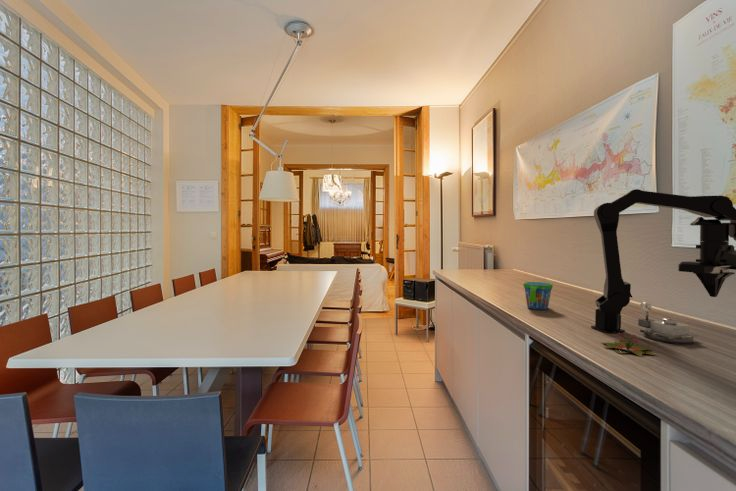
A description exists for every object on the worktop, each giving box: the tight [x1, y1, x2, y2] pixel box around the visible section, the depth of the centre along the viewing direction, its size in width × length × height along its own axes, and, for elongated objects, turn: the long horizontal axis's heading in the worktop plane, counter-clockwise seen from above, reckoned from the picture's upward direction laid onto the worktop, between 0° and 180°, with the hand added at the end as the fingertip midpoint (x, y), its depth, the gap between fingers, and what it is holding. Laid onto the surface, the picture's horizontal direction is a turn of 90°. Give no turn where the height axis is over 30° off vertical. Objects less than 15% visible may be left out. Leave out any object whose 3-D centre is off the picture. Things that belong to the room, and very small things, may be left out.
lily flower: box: [603, 332, 658, 358], centre depth 90 cm, size 12×12×5 cm
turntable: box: [639, 328, 697, 345], centre depth 100 cm, size 11×11×2 cm
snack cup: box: [523, 281, 554, 311], centre depth 139 cm, size 16×10×10 cm
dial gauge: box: [637, 301, 656, 328], centre depth 113 cm, size 3×3×8 cm
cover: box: [649, 317, 690, 336], centre depth 99 cm, size 6×6×4 cm
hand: (713, 296), depth 97 cm, fingers closed
